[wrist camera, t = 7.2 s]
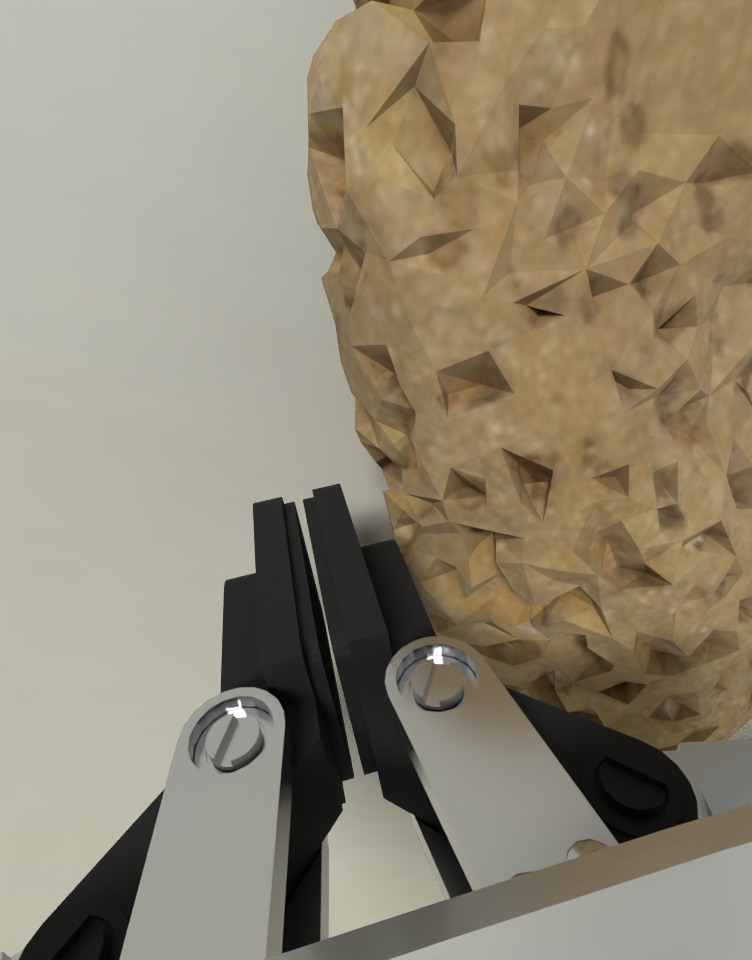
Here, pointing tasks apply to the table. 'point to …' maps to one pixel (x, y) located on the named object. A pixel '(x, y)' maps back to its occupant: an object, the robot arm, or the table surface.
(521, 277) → the sponge
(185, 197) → the table surface
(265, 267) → the table surface
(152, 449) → the table surface
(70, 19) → the table surface
